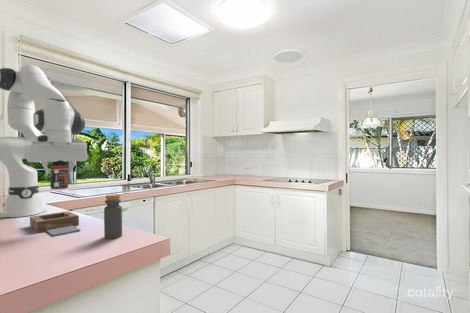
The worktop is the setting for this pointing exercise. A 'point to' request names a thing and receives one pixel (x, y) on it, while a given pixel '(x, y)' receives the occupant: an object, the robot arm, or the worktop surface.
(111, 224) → the bottle
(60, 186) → the supplement bottle
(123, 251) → the worktop surface
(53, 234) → the grey mat
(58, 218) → the frame
